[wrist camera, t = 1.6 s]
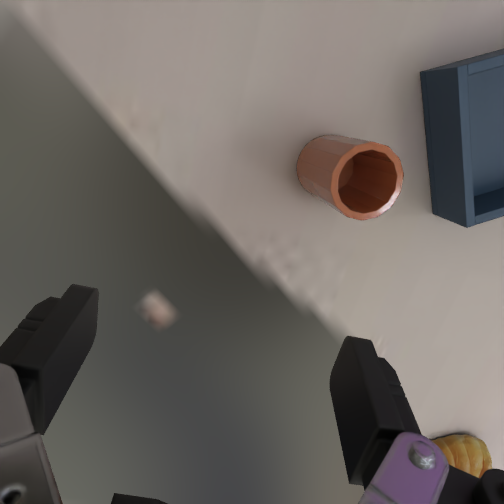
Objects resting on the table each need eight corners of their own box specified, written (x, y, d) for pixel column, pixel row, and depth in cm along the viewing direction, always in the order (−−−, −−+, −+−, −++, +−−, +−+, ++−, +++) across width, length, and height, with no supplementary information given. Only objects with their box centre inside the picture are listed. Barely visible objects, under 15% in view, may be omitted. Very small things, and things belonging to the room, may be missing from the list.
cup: (306, 127, 34) (345, 133, 27) (363, 144, 35) (415, 154, 28) (288, 188, 35) (320, 210, 28) (343, 202, 37) (387, 227, 29)
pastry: (399, 480, 50) (417, 508, 46) (408, 435, 48) (427, 461, 44) (467, 471, 52) (489, 497, 48) (479, 427, 50) (503, 451, 46)
